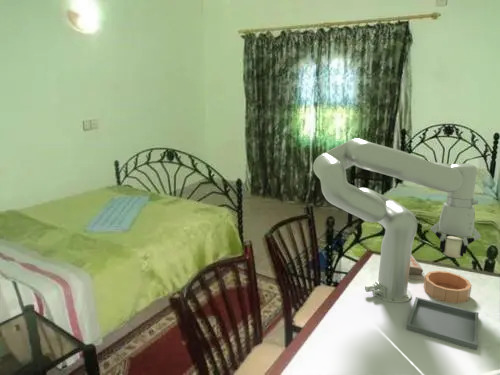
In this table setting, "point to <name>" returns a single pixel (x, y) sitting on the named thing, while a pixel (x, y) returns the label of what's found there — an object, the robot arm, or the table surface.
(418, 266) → the packaged product
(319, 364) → the table surface
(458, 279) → the bowl
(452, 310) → the tray
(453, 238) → the egg
